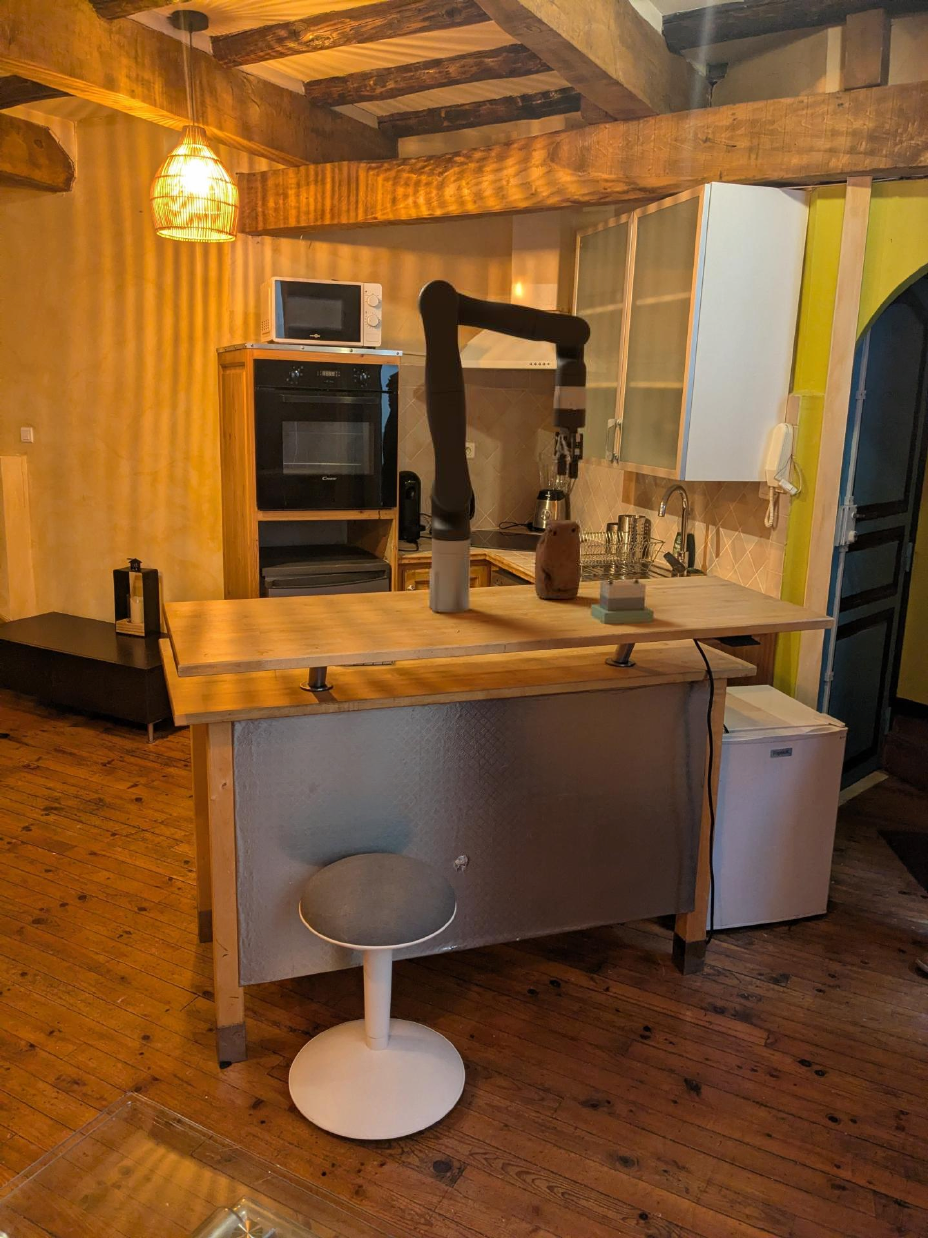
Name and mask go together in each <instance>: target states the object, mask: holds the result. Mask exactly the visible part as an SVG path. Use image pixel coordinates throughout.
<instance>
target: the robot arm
mask: <svg viewBox="0 0 928 1238" xmlns="http://www.w3.org/2000/svg"><path fill="white" fill-rule="evenodd" d="M417 308H418V312H419V314H420V317H421V320H422V321H421V322H422V326H423V327H422V328H423V333H424V340H425V360H424V362H425V363H424V397H425V399H424V400H425V410H426V418H427V419H426V420H427V423H428V428H429V434H430V438H431V443H432V446H433V452H434V454H433V455H434V479H433V482H432V484H431V491H430V492H431V493H430V494H431V495H430V496H431V498H430V500H431V502H430V503H431V505H430V506H431V507H430V509H431V511H430V512H431V514H430V515H431V516H430V517H431V519H430V521H431V523H430V524H431V525H430V526H431V568H430V569H429V606H428V607H429V608H430V609H431V610H432V612H434V613H437V612H439V613H447V614H448V613H449V614H450V613H453V614H454V613H463V612H467V611H469V610H470V587H471V586H470V584H471V583H470V582H471V581H470V580H471V579H470V578H471V522H470V521H471V519H470V518H471V516H470V514H471V513H470V509H471V507H470V504H471V499H472V498H473V497H472V496H473V486H472V481H471V475H470V470H469V464H468V458H467V457H468V456H467V444H466V443H467V402H466V400H467V399H466V387H465V379H464V378H465V377H464V371H463V364H462V359H461V354H460V349H459V348H460V347H459V326H463V327H472V328H477V329H482V330H486V331H491V332H495V333H498V334H502V335H506V336H509V337H514V338H519V339H522V340H527V341H530V342H531V341H532V342H545V343H550V344H554V346H555V356H556V357H555V358H556V371H555V389H554V395H553V414H552V415H553V416H552V417H553V418H552V426H553V428H556V429H557V428H559V430H558V431H557V430H556V431H555V432H554V445H553V447H554V448H553V457H555V460H556V475H557V476H559V477H560V476H566V475H567V478H568V479H571V480H573V479H575V480H576V479H578V477H579V463H580V462H581V461H582V460H583V458H584V455H583V454H584V433H580V432H579V430H578V429H584V428H585V427H586V417H587V415H586V414H587V412H586V411H587V390H586V389H587V364H586V363H585V345H586V344H587V343H588V341H589V340H590V337H591V332H592V331H591V327H590V325H589V323H588V322H587V320H586V319H584V318H583V317H581V316H577V315H572V314H566V313H558V312H549V311H546V310H542V309H539V308H534V307H530V306H527V305H526V306H525V305H520V304H516V303H508V302H499V301H490V300H485V299H484V300H483V299H480V298H475V297H471V296H469V295H466V294H463V293H461V292H459V291H457V290H456V288H455V287H454V286H453V285H452V284H451V283H450V282H448V281H447V280H443V279H435V280H431V281H429V282H428V283H426V284H425V285H424V286H423V287H422V289H421V290H420V292H419V295H418V298H417ZM567 463H568V464H567Z"/></svg>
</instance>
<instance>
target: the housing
mask: <svg viewBox="0 0 928 1238" xmlns="http://www.w3.org/2000/svg"><path fill="white" fill-rule="evenodd" d="M646 586H647V584H646V583H643V582H641V581H639V579H638V578H633V579H632V580H631V579H630V580H628V579H627V580H613V579H607V580H600V586H599V587H600V590H599V604H598V605H599V606H600V607H602V608H604V609H605V610H607V611H624V610H644V606H645V604H646V588H647V587H646ZM645 607H646V606H645Z"/></svg>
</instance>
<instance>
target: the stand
mask: <svg viewBox="0 0 928 1238" xmlns="http://www.w3.org/2000/svg"><path fill="white" fill-rule="evenodd" d="M654 613H655V611H654V610H652V609H650V608H648V607H646V606H644V610H624V611H607V610H605V609H604V608H602V607H600V606H599V604H591V607H590V616H592V617H593V618H595V619H596V620H598V619H599V620H600V622H601V621H602V622H603V624H604V623H606V624H626V623H627V624H628V623H632V624H633V623H634V624H635V623H653V622H654ZM599 620H598V621H599ZM602 622H601V623H602Z"/></svg>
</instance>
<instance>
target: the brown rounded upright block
mask: <svg viewBox="0 0 928 1238" xmlns="http://www.w3.org/2000/svg"><path fill="white" fill-rule="evenodd" d="M544 525H545V530H544V532H543V534H542V535H541V536H540V539H539V542H538V544H537V546H536V548H535V550H536V551H535V557H534V558H535V559H534V561H535V563H534V588H535V593H536V596H537V597H538V598H540V599H547V600H548V599H553V600H556V599H558V600H562V599H563V600H568V599H575V598H576V597H577V596H578V595H579V589H580V588H579V587H580V580H581V579H580V578H581V568H580V566H581V565H580V564H581V537H580V536H581V535H580V531H581V526H580V524H578V523H577V522H576V521H575V520H571V519H564V520H561V519H547V520H545V523H544Z"/></svg>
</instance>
